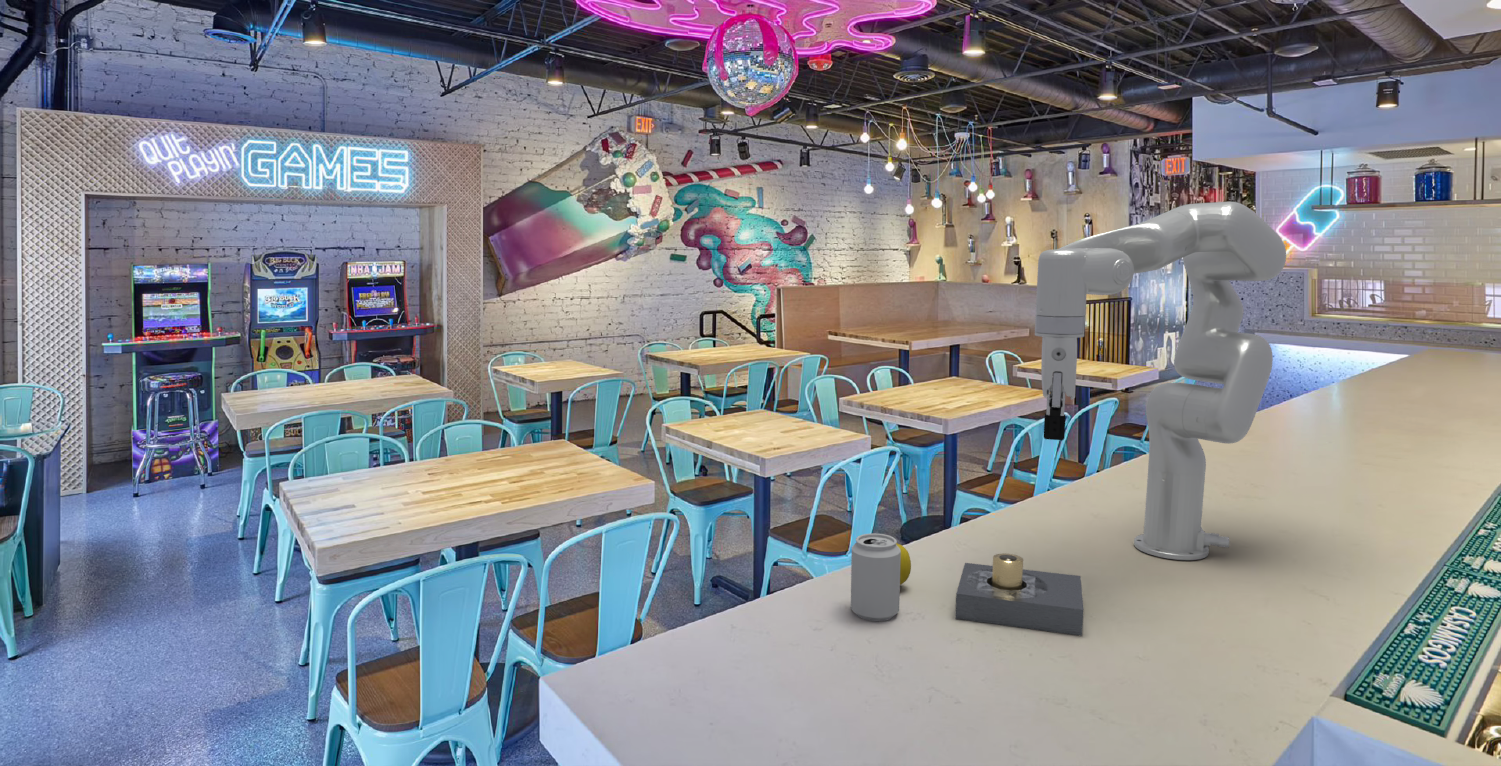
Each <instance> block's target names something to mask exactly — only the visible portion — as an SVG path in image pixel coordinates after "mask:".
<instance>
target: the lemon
mask: <svg viewBox="0 0 1501 766" xmlns="http://www.w3.org/2000/svg"><path fill="white" fill-rule="evenodd" d="M896 545H897V546H898V547H899V548H900V550H901V560H900V586H901V585H903V584H904V583H906V581H908V579H909V577H910V574H911V571H912V561H911V556H910V553H909V551H908V550H907V548H906V547H904V546H903V545H902V544H900V543H898V542H897V543H896Z"/></svg>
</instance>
